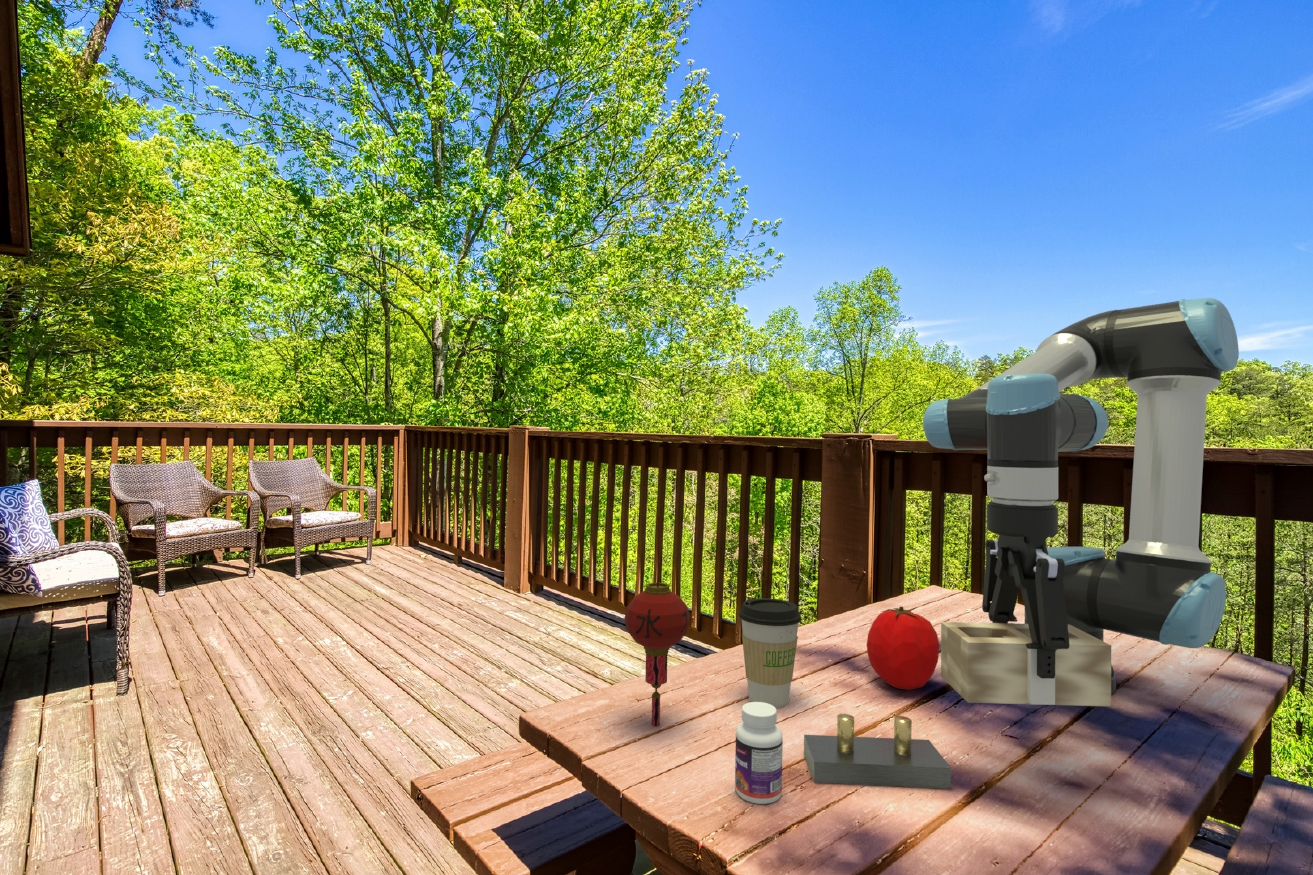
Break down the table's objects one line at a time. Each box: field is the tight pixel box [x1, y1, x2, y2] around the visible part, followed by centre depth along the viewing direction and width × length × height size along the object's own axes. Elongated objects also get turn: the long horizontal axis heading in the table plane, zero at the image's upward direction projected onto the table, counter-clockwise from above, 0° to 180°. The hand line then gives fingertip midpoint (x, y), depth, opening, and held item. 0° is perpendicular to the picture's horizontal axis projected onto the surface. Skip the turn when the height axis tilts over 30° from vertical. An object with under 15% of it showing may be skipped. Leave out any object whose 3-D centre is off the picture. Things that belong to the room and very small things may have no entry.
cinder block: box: [940, 621, 1112, 707], centre depth 77 cm, size 16×8×7 cm, turn 87°
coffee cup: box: [738, 597, 802, 709], centre depth 99 cm, size 10×10×15 cm
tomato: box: [866, 606, 941, 691], centre depth 106 cm, size 12×12×13 cm
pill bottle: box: [734, 701, 784, 805], centre depth 73 cm, size 5×5×10 cm
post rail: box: [803, 713, 952, 790], centre depth 78 cm, size 16×7×6 cm, turn 87°
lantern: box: [623, 514, 691, 727], centre depth 90 cm, size 10×10×30 cm
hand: (1021, 687), depth 77 cm, fingers closed on cinder block, 8 cm apart
